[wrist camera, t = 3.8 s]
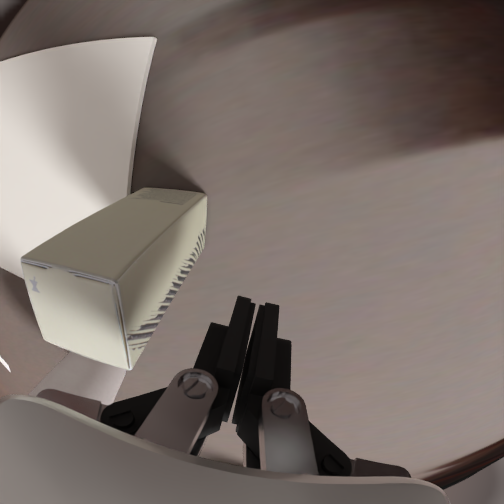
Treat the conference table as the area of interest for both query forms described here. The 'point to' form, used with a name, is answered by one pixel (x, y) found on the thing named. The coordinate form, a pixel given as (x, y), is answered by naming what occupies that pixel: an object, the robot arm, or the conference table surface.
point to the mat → (66, 137)
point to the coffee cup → (83, 378)
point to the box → (115, 273)
